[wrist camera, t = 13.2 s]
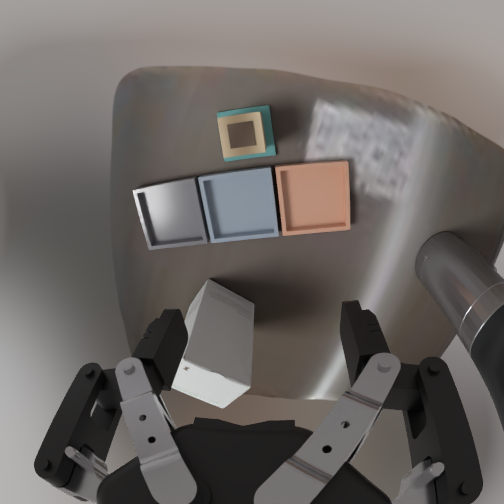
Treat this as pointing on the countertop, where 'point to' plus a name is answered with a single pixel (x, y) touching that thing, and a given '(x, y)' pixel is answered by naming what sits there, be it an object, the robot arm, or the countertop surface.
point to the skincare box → (217, 346)
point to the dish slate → (239, 204)
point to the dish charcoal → (172, 213)
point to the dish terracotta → (314, 196)
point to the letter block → (242, 134)
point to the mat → (267, 129)
